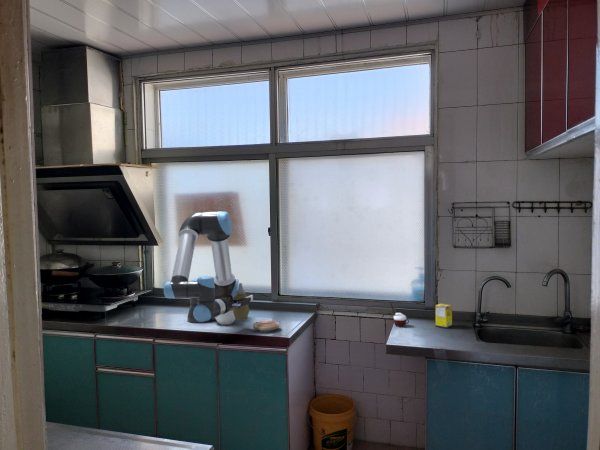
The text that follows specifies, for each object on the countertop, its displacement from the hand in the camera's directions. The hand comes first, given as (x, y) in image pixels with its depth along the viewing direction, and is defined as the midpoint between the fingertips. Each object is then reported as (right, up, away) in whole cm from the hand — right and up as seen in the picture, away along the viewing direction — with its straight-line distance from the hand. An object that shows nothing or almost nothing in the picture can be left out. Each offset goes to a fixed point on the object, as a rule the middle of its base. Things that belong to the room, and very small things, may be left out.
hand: (246, 297), depth 232 cm
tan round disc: (+11, -16, -5) cm, 20 cm away
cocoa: (+78, -14, -2) cm, 79 cm away
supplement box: (+100, -14, -5) cm, 101 cm away
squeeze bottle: (-2, -10, -4) cm, 11 cm away
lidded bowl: (-12, -16, +10) cm, 22 cm away
